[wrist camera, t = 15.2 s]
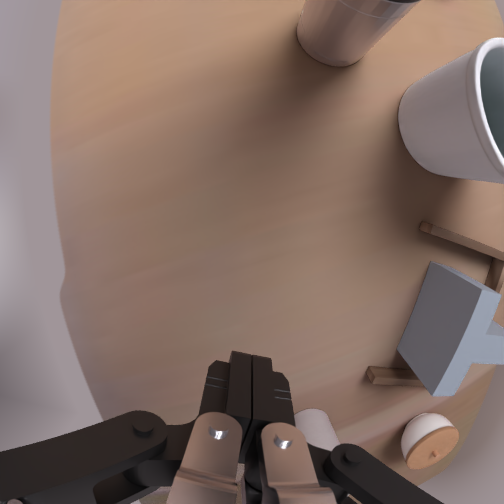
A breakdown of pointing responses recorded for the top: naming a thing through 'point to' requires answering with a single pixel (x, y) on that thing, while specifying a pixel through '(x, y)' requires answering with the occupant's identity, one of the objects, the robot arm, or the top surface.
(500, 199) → the top surface
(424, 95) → the utensil holder
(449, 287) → the slate T block
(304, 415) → the coffee cup
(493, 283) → the walnut bay
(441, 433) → the lidded jar
